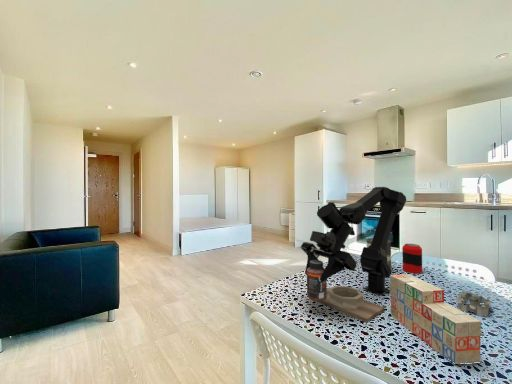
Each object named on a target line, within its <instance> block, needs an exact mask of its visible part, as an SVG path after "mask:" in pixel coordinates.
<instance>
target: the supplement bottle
mask: <svg viewBox="0 0 512 384" xmlns="http://www.w3.org/2000/svg"><path fill="white" fill-rule="evenodd" d="M324 269H325V267H324V262H323V261H322V260H320V259H318V260H311V261H310V267H309V268H308V269H307V275H306V296H307V298H308V299H309V300H310V301H313V302H318V301H324V300H325V299H326V298H327V288H328V286H327V284H328V283H327V281H328V280H327V279H328V278H327V279H326V280H324V281H323V282H322V281H321V280H320V277H321V275H322V273H323V271H324Z"/></svg>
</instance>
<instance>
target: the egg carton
mask: <svg viewBox="0 0 512 384" xmlns="http://www.w3.org/2000/svg"><path fill="white" fill-rule="evenodd" d="M455 300H456V302H457V309H458V308H459V310H460V309H461V310H460V311H462V312H463V311H465V312H464V313H472V312H474V313H473V314H475V313H476V314H477V315H476V314H475V315H476V316H478V315H480V316H479V317H481V316H482V315H486V316H485V317H488V316H489V315H488V314H489V310H490V309H489V308H490V305H491V304H492V302H491V299H490V298H489V297H487V298H485V297H483V295H478V294H477V293H476V294H475V293H472V292H468V291H466V290H464V289H462V290H461V292H460V293H458V295H457V297H455ZM467 300H469V301H467ZM466 302H469V303H466ZM465 303H466V304H465ZM480 303H484V304H483V305H480ZM464 304H465V305H464ZM470 305H471V306H470ZM468 311H470V312H468ZM482 317H483V316H482Z"/></svg>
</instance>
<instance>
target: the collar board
mask: <svg viewBox="0 0 512 384" xmlns="http://www.w3.org/2000/svg"><path fill="white" fill-rule="evenodd" d="M317 302H318V303H320V304H323V305H324V306H327V307H329V308H332V309H334V310H336V311H338V312H341V313H343V314H345V315H348V316H350V317H352V318H355V319H356V320H359V321H361V322H364V323H368V322H370V321H371V320H373V319H374V318H376V317H377V316H379V315H380V314H382V313H384V312H385V310H386V309H385V307H384V306H383V305H379V304H376V303H374V302H370V301H367V300H365V299H364V295H363V293H362V292H361V290H360V289H357V288H354V287H351V286H346V285H334V286H332V287H330V286H329V287H327V298H326V299H325V300H324V301H317Z"/></svg>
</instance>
